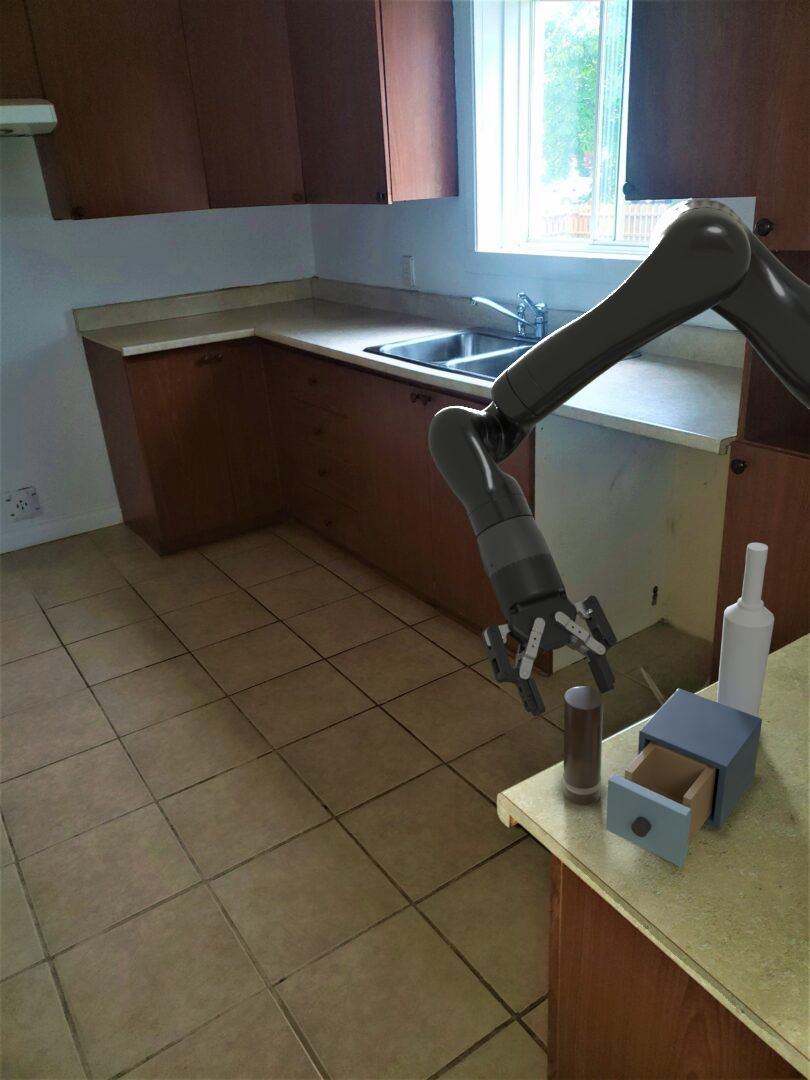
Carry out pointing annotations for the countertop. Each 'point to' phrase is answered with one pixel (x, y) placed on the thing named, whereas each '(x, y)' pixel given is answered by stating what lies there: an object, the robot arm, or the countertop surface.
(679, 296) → the robot arm
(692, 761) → the drawer
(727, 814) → the cabinet
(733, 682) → the bottle
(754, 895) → the countertop surface
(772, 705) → the countertop surface
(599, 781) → the pepper mill
